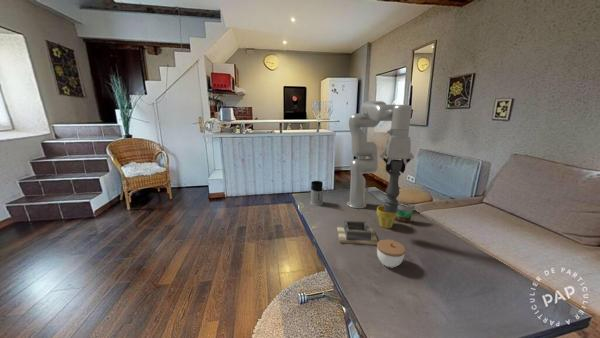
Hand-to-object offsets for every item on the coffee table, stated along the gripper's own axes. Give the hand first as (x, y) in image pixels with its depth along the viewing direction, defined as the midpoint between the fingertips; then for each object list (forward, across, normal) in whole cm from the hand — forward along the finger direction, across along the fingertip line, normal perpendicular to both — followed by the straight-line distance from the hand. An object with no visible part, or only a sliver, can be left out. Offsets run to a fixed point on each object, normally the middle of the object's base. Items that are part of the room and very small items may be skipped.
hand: (394, 171), depth 106 cm
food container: (+34, +13, +17) cm, 40 cm away
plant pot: (+34, +2, +11) cm, 36 cm away
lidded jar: (+34, -6, -22) cm, 40 cm away
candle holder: (+20, 0, 0) cm, 20 cm away
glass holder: (+34, -34, +38) cm, 62 cm away
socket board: (+34, -16, -2) cm, 37 cm away
